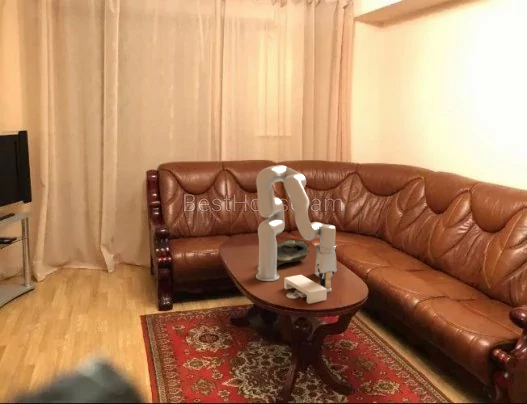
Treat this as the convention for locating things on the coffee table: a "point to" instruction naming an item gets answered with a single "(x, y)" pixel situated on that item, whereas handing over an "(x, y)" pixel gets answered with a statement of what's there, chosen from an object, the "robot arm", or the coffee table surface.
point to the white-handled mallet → (327, 285)
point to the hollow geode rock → (291, 251)
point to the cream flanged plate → (306, 288)
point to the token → (292, 295)
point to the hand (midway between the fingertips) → (325, 284)
